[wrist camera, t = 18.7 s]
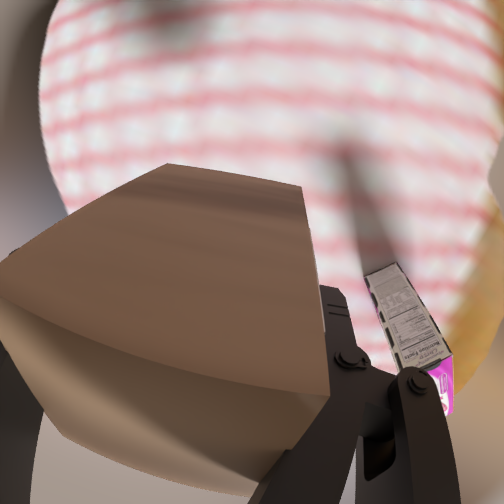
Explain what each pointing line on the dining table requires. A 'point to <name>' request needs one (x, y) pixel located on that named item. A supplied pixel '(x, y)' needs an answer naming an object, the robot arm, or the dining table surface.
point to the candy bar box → (411, 330)
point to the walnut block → (174, 325)
